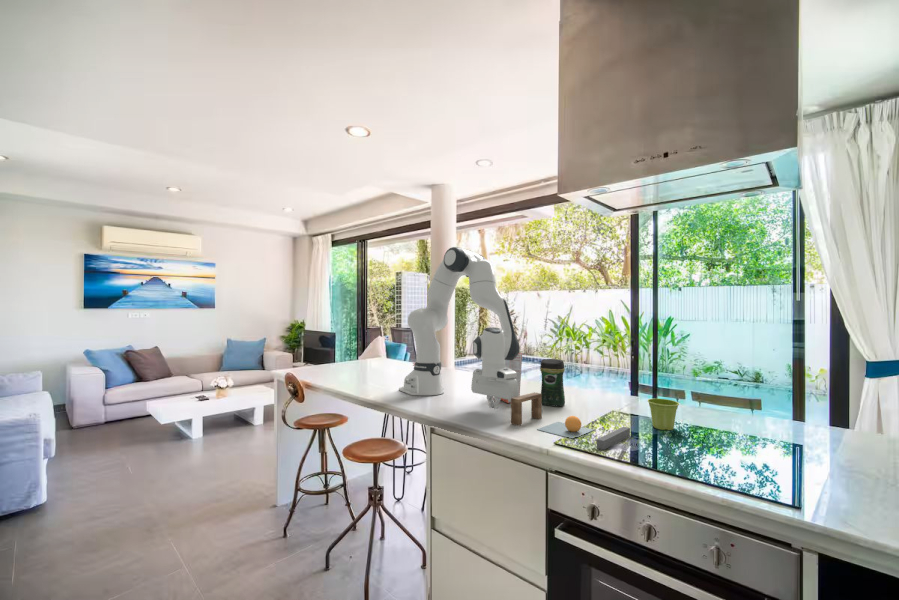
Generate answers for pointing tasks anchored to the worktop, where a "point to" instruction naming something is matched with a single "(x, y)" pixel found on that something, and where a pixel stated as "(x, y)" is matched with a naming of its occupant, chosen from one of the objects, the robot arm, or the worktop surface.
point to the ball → (573, 423)
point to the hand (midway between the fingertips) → (493, 408)
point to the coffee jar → (552, 382)
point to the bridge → (517, 407)
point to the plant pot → (663, 413)
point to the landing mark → (563, 430)
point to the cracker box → (516, 367)
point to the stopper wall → (613, 438)
